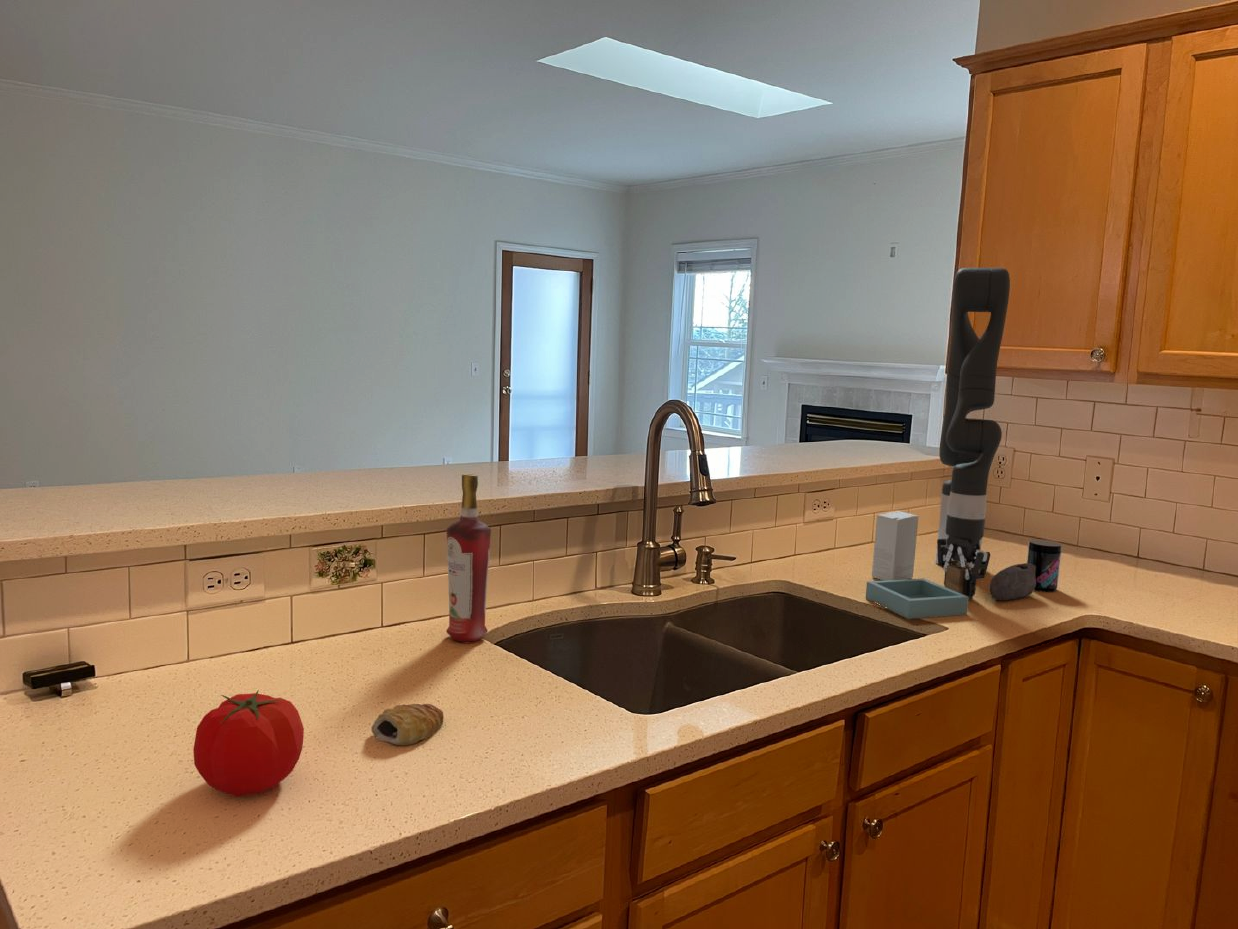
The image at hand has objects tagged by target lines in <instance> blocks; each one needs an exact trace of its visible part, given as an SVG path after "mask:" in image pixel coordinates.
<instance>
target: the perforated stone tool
mask: <svg viewBox="0 0 1238 929" xmlns="http://www.w3.org/2000/svg"><path fill="white" fill-rule="evenodd" d="M1035 571H1036V566H1034V565H1033V564H1030V563H1027V562H1026V563H1019V564H1018V563H1017V564H1013V565H1010V566H1008V567H1004V568H1003V569H1001V570H1000V571H998V572H997V573H996V574H995V575H993V577H992V579H991V580H990V583H989V589H988V590H989V594H990V596H991V598H993V599H994V600H996V601H1011V600H1012V601H1013V600H1018V599H1022V598H1024V597H1027V596H1029V595H1031V594H1032V593H1033V592H1034V591H1035V590H1034V588H1035V586H1036V578H1035Z"/></svg>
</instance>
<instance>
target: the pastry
mask: <svg viewBox="0 0 1238 929" xmlns="http://www.w3.org/2000/svg"><path fill="white" fill-rule="evenodd" d="M383 710H384V711H382V713H379V715H378V716H377V718H376V719H375V720H374V723H373V724H372V725H371V733H372V734H373V735H374V738H376V737H377V738H376V739H377V740H378V739H379V740H378V741H382V742H386V743H389V742H390V744H393V745H395V746H400V745H401V746H410V745H415V744H417V743H418V742H419V741H421V740H422V741H424V740H426V739H428V738H429V737H431V736H432V735H433V734H435V733H436V732H437V731H439V729H441V728H442V726H443V724H444V716H445V715H444V712H443V711H442V709H440V708H438V707H436V706H435V705H433V704H431V703H423V704H419V703H410V704H398V705H394V706H393V708H387V709H383Z"/></svg>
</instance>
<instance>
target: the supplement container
mask: <svg viewBox="0 0 1238 929" xmlns="http://www.w3.org/2000/svg"><path fill="white" fill-rule="evenodd" d="M1027 548H1028V549H1027V557H1026V563H1030V564H1033V565H1034V566H1036V571H1035V578H1036V586H1035V588H1034V590H1033V591H1035V590H1036V592H1041V591H1042V592H1043V593H1053V592H1055V591H1057V590H1058V585H1059V576H1060V575H1059V574H1060V567H1061V560H1062V559H1061V556H1062V549H1063V544H1062V543H1060V542H1058V541H1054V540H1047V539H1037V538H1036V539H1034V538H1033V539H1030V540H1028V545H1027ZM1042 592H1041V593H1042Z"/></svg>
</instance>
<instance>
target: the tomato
mask: <svg viewBox="0 0 1238 929" xmlns="http://www.w3.org/2000/svg"><path fill="white" fill-rule="evenodd" d="M220 696H221V697H223V698H224V699H225V700H224V701H222V702H221V703H220V704H219V706H218V707H216V708H214V709H210V711H209V712H207V713H206V714H204V715H203V717H202V719H201V720H200V722H199V724H198V725H197V727H196V732H195V738H194V744H193V753H192V754H193V762H194V763H193V764H194V765H193V766H195V768H196V770H197V772H198V774H199V775H200V777H202V779H203V780H204V781H205V783H207V785H208V786H209V787H211V788H212V789H214V790H216V791H218V792H221V793H224V794H225V795H230V796H233V797H235V798H238V797H244V796H250V795H252V796H253V795H256V794H257V795H258V794H262V793H263V792H265V791H267V790H271V789H272V788H275V787H276V786H277V785H279V784H280V783H281V782H282V781H283V780H285V779H286V778H287V777H288V776H289V775H290V774H291V773H292V772H293V771H294V769H295V768H296V765H297V763H299V762H298V761H299V760H300V757H301V753H302V751H303V744H304V734H305V732H304V731H305V727H304V724H303V721H302V718H301V716H300V713H299V710H298V709H297V708H296V707H295V705H294V704H293V702H292V701H290V700H287V699H286V698H284V697H283V698H282V697H273V696H271V695H269V694H268V695H267V694H261V693H259V690H256V692H255V693H238V694H235V695H233V696H230V697H228V696H226V695H224V694H220Z"/></svg>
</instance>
